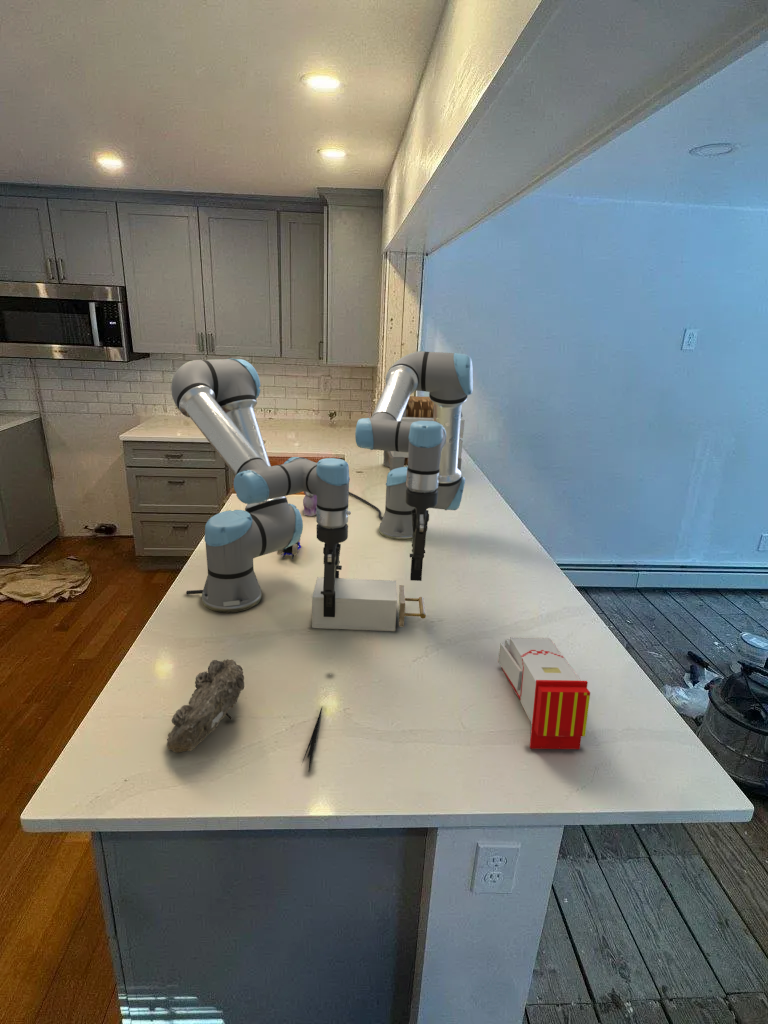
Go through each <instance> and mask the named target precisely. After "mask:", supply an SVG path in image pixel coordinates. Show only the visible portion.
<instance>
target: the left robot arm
mask: <svg viewBox="0 0 768 1024" xmlns="http://www.w3.org/2000/svg"><path fill="white" fill-rule="evenodd" d="M170 387H171V388H170V389H171V397H172V400H173V402H174V404H175V406H176V407H177V409H178V410H179V412H180V413H181V415H183V416H184V417H186V418H190V420H192V422H193V423H194V424H195V426H196V427H197V428H198V430H199V431H200V432H201V433H202V435H203V436H204V437H205V439H206V440H207V442H208V443H209V445H211V446H212V448H213V449H214V451H215V452H216V453H217V454H218V456H219V457H220V458H221V459H222V462H224V463H225V465H226V466H227V467H228V469H229V470H230V471H231V473H232V474H233V475H234V479H233V490H234V492H235V493H236V497H237V499H238V500H239V501H240V502H242V504H246V506H245V507H244V510H243V509H234V510H231V509H230V510H225V511H221V512H218V513H215V514H214V515H212V516H211V517H210V518H209V519H208V520H207V521H206V523H205V526H204V543H205V555H206V567H207V569H206V570H207V575H206V579H205V582H204V585H203V589H194V590H193V589H192V590H186V591H185V594H186V595H201V599H202V601H201V602H202V604H203V606H204V607H205V608H207V609H208V610H209V611H213V612H218V613H238V612H242V611H245V610H248V609H249V610H250V609H251V608H253V607H254V606H256V605H258V604H259V602H261V600H262V588H261V586H260V583H259V580H258V577H257V576H256V573H255V571H254V559H255V558H258V557H262V556H265V555H268V554H271V553H272V554H273V553H274V552H277V551H278V550H283V549H286V548H287V547H289V546H292V545H294V544H296V543H297V542H298V541H299V539H300V540H301V538H302V534H303V529H304V521H303V517H302V514H301V511H300V510H299V508H297V506H296V505H295V504H293V503H289V502H288V497H287V496H291V495H296V494H300V493H304V492H308V493H311V494H313V495H317V506H316V515H315V516H316V520H315V521H316V523H317V524H316V539H317V540H318V541H319V542H320V543H324V544H323V545H324V547H322V548H323V549H322V554H323V577H324V586H323V591H321V594H323V595H324V617H335V578H340V571H342V568H343V566H342V565H340V563H341V562H340V555H341V549H342V548H341V547H342V545H341V544H342V543H345V542H346V541H347V540H348V538H349V524H348V522H349V516H350V515H352V513H351V510H349V497H350V496H349V495H350V494H349V492H350V481H351V478H350V466H349V463H348V462H347V461H346V460H344V459H342V458H336V457H326V458H322V459H319V460H318V461H317V462H315V461H313V460H310V459H308V458H305V457H300V456H291V457H290V458H288V459H287V460H286V461H284V463H282V464H276V465H271V462H270V458H269V455H268V452H267V448H266V446H265V442H264V439H263V435H262V432H261V430H260V425H259V423H258V418H257V416H256V413H255V408H256V406H257V405H258V400H257V399H258V398H259V396H260V393H261V388H260V387H261V380H260V377H259V374H258V371H257V370H256V368H255V367H254V366H253V365H252V363H250V362H249V361H247V360H246V359H241V358H232V357H230V358H221V359H220V358H218V359H193V360H189V361H187V362H185V363H184V364H181V366H180V367H179V368H177V370H176V371H175V373H174V374H173V376H172V380H171V386H170Z"/></svg>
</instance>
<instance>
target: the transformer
mask: <svg viewBox="0 0 768 1024" xmlns="http://www.w3.org/2000/svg"><path fill="white" fill-rule="evenodd" d="M433 413H434V402H432V401H431V400H430V398H429V396H415V395H414V396H413V395H412V396H411V395H410V397H409V400H408V402H407V405H406V408H405V410H404V413H403V416H402V418H401V421H403V422H417V421H433ZM464 429H465V419H464V418H463V411H461V422H460V436H459V450H458V464H457V468H458V469H459V470H460V471H461V472H462V461H463V460H462V453H463V442H464V441H463V440H462V439H463V438H464V431H465V430H464ZM383 466H384V467H388V468H389V472H390V471H391V470H393V469H396V468H400V467H405V466H406V467H408V453H407V452H397V451H385V450H383Z"/></svg>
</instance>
